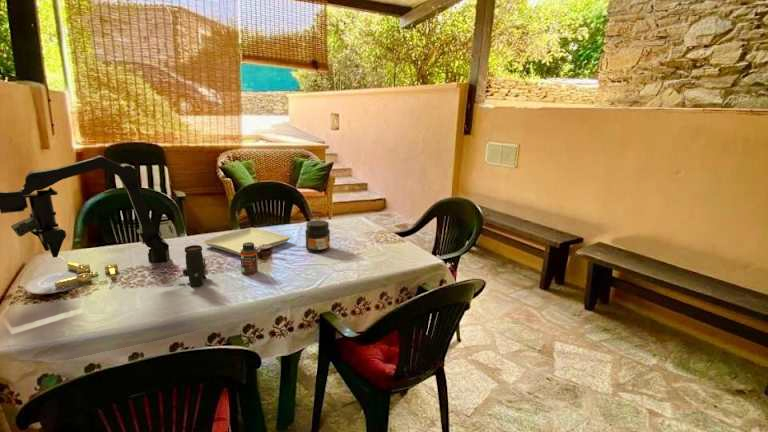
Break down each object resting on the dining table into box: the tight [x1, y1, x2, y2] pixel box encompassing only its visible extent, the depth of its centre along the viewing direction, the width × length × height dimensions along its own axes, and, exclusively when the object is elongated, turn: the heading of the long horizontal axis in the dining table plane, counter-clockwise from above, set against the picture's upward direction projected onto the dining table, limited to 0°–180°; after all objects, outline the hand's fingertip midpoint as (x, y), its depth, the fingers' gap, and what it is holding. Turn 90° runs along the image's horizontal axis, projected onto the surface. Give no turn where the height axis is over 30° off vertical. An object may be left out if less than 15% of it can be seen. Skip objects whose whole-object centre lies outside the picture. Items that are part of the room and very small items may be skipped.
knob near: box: [104, 263, 119, 281], centre depth 152 cm, size 10×4×3 cm, turn 35°
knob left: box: [54, 273, 93, 290], centre depth 143 cm, size 10×4×3 cm, turn 140°
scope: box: [182, 244, 209, 289], centre depth 148 cm, size 8×14×10 cm
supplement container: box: [304, 219, 331, 254], centre depth 185 cm, size 10×10×12 cm
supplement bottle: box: [240, 242, 259, 276], centre depth 159 cm, size 6×6×11 cm
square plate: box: [202, 227, 292, 256], centre depth 189 cm, size 27×27×4 cm
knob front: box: [66, 261, 92, 275], centre depth 154 cm, size 10×4×3 cm, turn 65°
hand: (51, 253), depth 145 cm, fingers open, 9 cm apart
